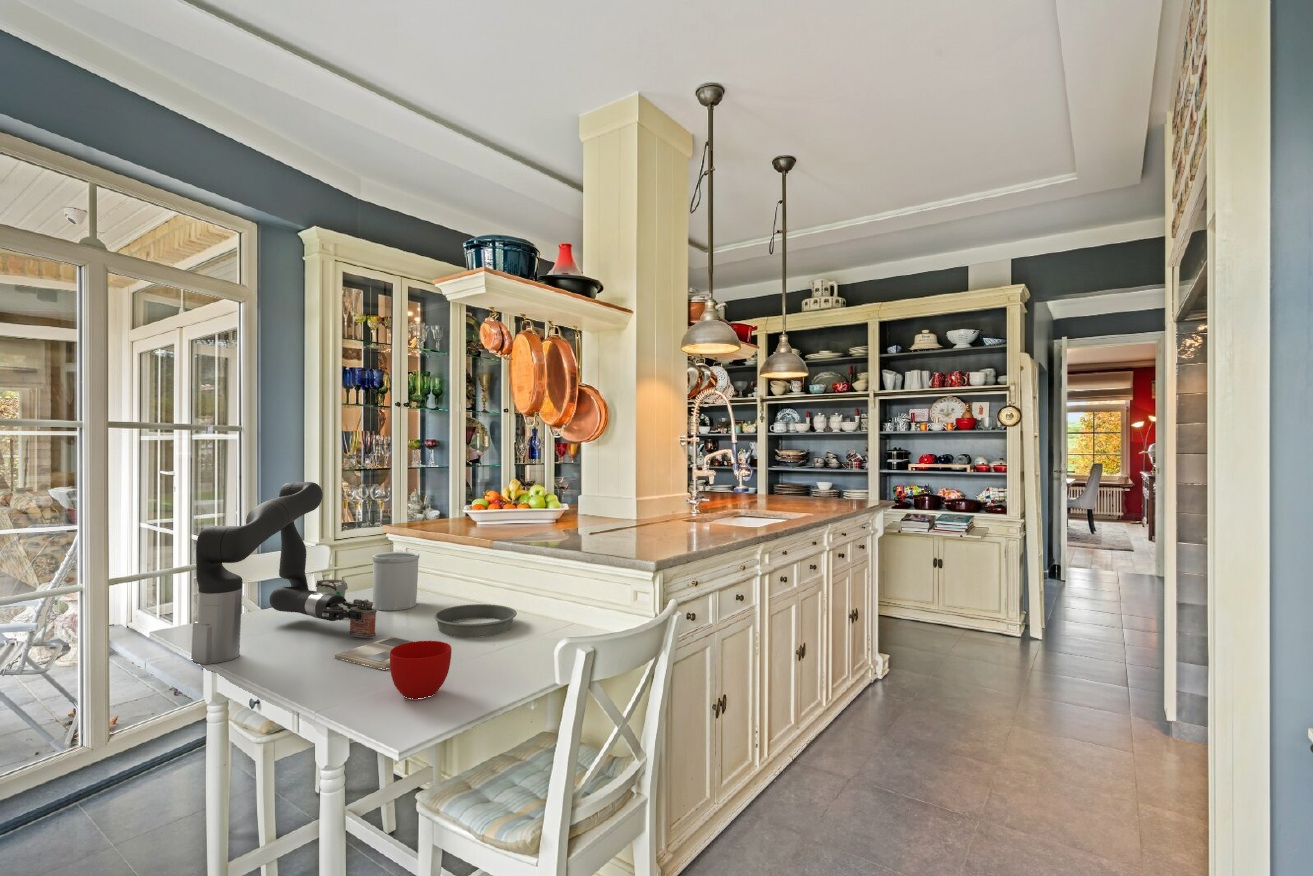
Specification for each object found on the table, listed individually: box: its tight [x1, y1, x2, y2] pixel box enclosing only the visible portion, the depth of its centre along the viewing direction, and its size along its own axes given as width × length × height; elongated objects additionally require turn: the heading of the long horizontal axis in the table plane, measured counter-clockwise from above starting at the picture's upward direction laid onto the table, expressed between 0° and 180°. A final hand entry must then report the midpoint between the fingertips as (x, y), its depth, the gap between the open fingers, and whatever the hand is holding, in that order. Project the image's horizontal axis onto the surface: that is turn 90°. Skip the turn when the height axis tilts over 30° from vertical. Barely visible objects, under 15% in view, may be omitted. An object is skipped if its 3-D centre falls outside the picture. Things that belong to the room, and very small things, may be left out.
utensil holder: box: [371, 551, 420, 612], centre depth 217 cm, size 15×15×18 cm
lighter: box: [348, 598, 378, 639], centre depth 181 cm, size 8×3×10 cm, turn 74°
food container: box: [315, 579, 349, 598], centre depth 207 cm, size 12×6×10 cm, turn 58°
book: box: [334, 636, 414, 669], centre depth 168 cm, size 18×18×1 cm
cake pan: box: [433, 603, 518, 638], centre depth 195 cm, size 25×25×4 cm
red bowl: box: [389, 640, 453, 699], centre depth 144 cm, size 13×17×10 cm
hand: (366, 614), depth 181 cm, fingers closed on lighter, 3 cm apart
